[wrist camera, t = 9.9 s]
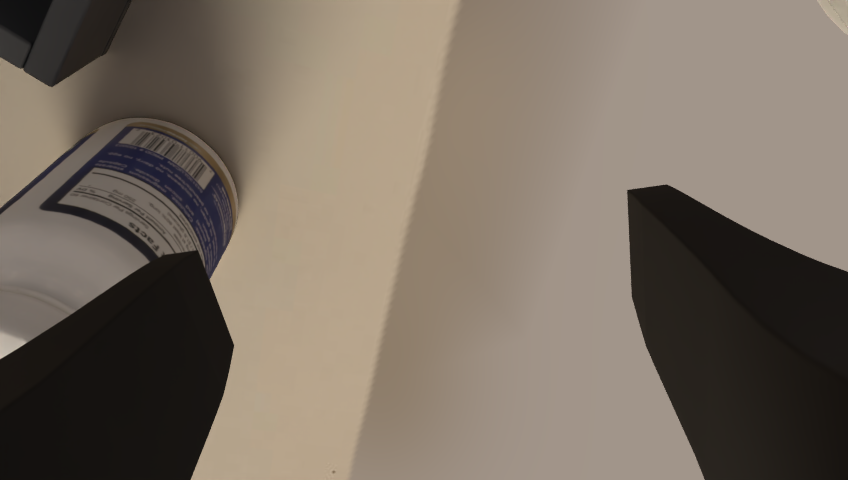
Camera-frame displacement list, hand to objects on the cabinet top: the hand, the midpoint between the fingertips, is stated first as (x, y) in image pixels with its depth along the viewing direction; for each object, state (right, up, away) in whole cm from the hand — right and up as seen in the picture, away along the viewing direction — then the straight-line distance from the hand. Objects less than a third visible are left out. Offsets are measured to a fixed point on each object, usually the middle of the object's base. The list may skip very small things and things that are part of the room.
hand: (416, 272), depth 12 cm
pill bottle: (-8, +2, +11) cm, 14 cm away
